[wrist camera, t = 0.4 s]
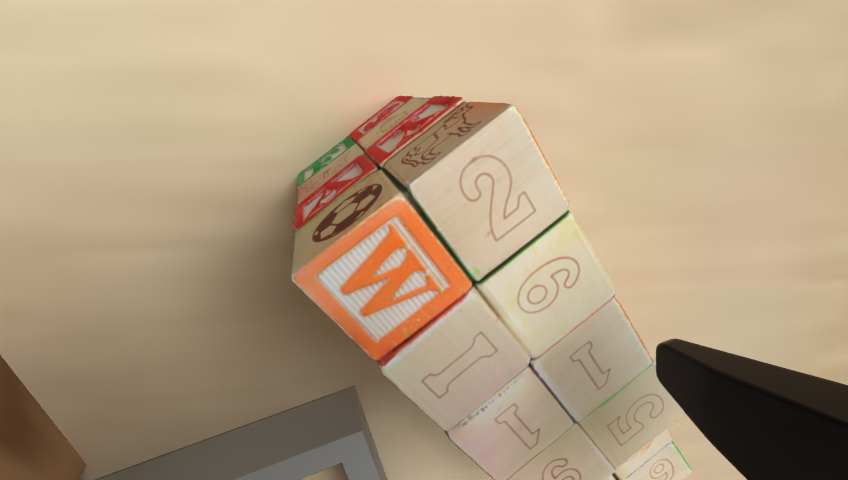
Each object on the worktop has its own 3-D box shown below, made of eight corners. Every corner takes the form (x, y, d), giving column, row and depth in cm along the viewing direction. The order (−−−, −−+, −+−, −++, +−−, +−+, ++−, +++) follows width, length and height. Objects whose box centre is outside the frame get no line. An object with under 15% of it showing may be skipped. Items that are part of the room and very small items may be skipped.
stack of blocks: (580, 362, 29) (755, 534, 18) (507, 420, 29) (639, 628, 18) (397, 91, 20) (521, 97, 9) (292, 173, 20) (284, 281, 9)
